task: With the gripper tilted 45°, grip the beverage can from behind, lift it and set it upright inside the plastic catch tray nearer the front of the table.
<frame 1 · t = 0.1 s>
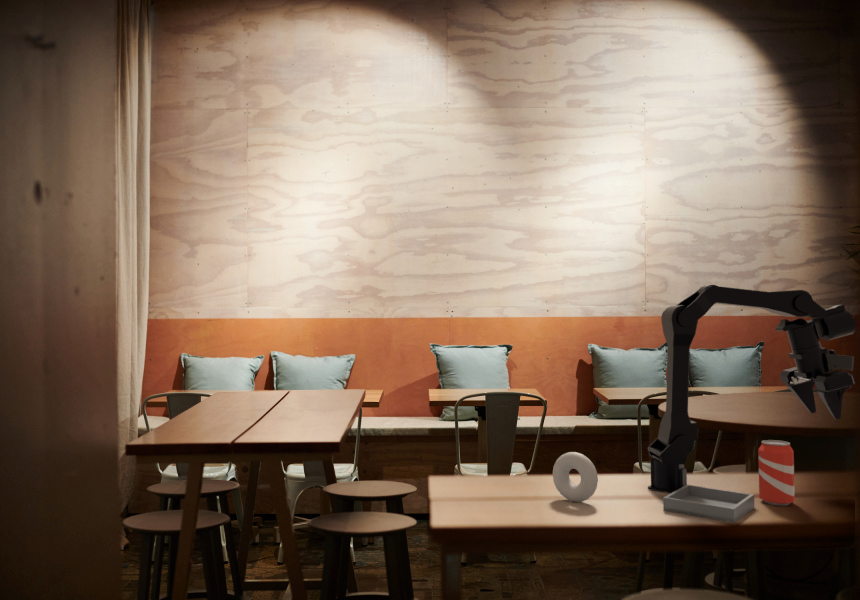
hand: (825, 415, 150), 15 cm above the table, tool pointing down, fingers open, 9 cm apart
catch tray: (709, 508, 134), on the table
beverage can: (776, 503, 138), on the table
donut: (575, 502, 140), on the table
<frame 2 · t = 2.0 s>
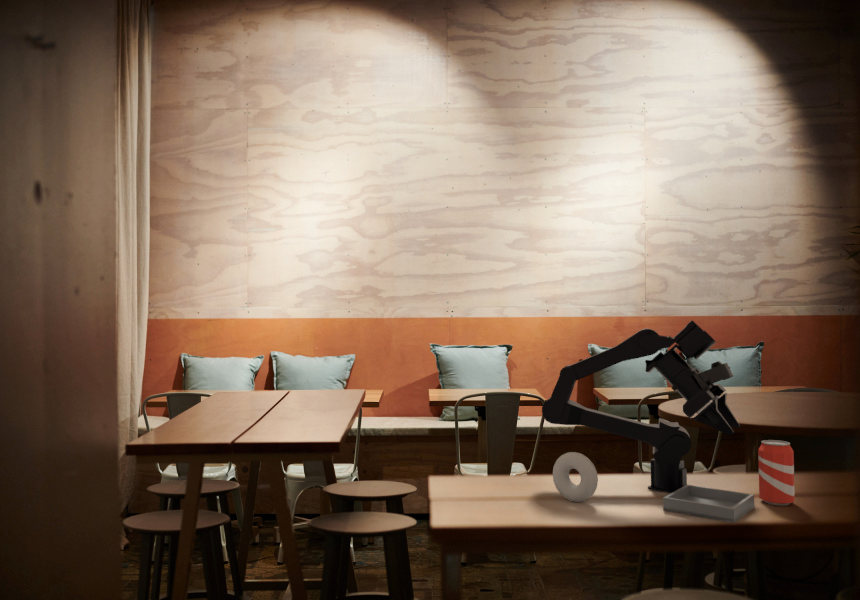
hand: (735, 430, 142), 14 cm above the table, tool tilted 45°, fingers open, 9 cm apart
nothing on the table moved.
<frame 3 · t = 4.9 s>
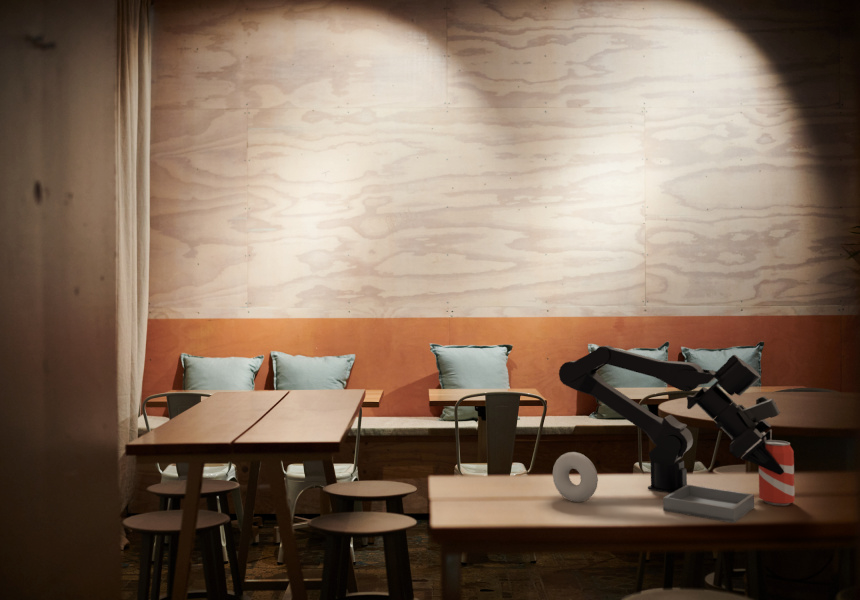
hand: (784, 470, 137), 7 cm above the table, tool tilted 45°, fingers closed on beverage can, 6 cm apart
beverage can: (776, 503, 138), on the table, touching gripper
everything else where it was.
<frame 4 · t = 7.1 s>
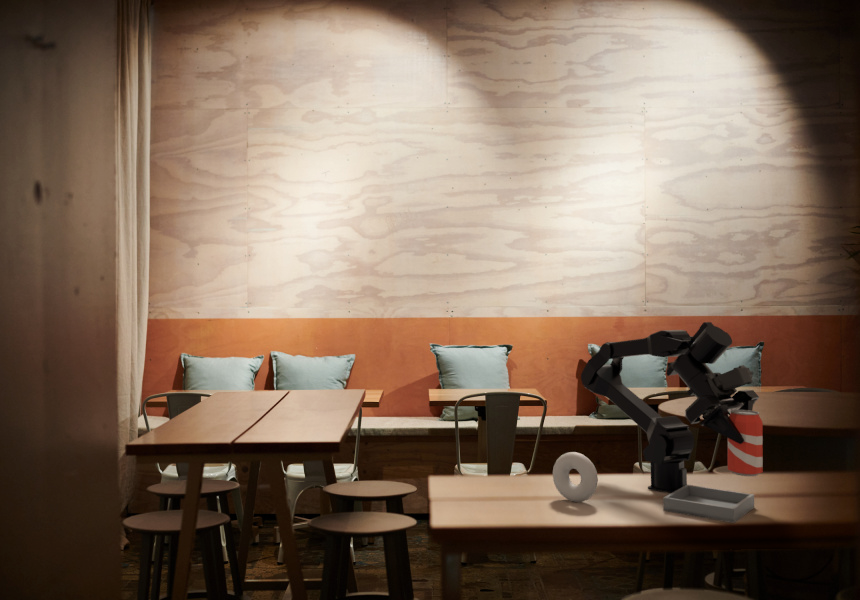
hand: (751, 440, 133), 13 cm above the table, tool tilted 45°, fingers closed on beverage can, 6 cm apart
beverage can: (744, 474, 134), point 7 cm above the table, touching gripper
everything else where it was.
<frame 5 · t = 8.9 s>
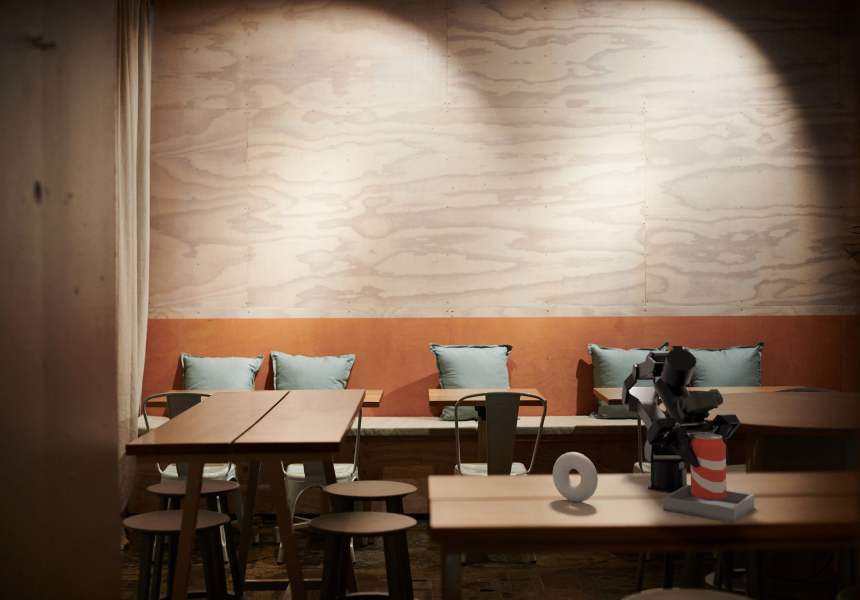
hand: (712, 465, 133), 9 cm above the table, tool tilted 45°, fingers closed on beverage can, 6 cm apart
beverage can: (708, 498, 134), point 2 cm above the table, touching gripper
everything else where it was.
when the fingers open (9 cm above the table, at t = 9.4 s): beverage can drops 1 cm, resting on catch tray.
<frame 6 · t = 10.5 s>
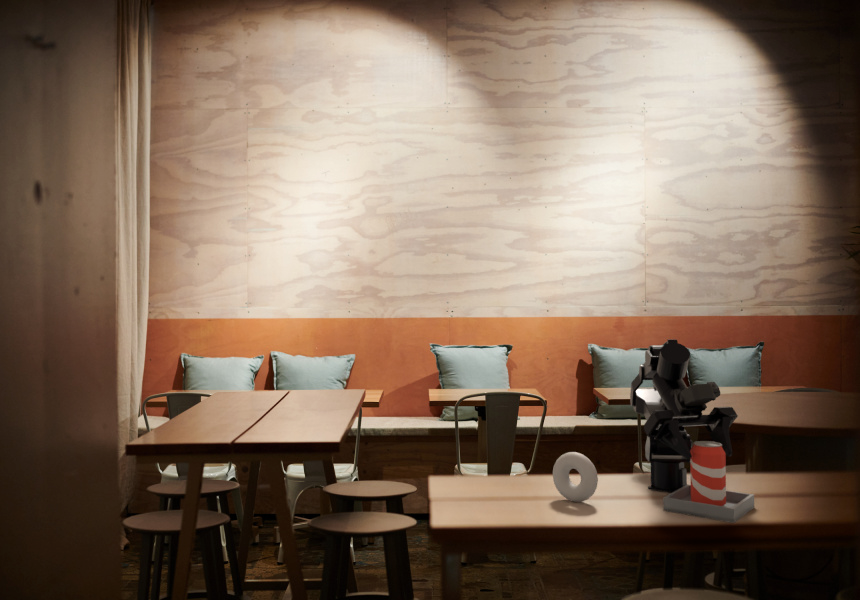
hand: (710, 456, 134), 10 cm above the table, tool tilted 45°, fingers open, 9 cm apart
beverage can: (708, 506, 134), resting on catch tray
everything else where it was.
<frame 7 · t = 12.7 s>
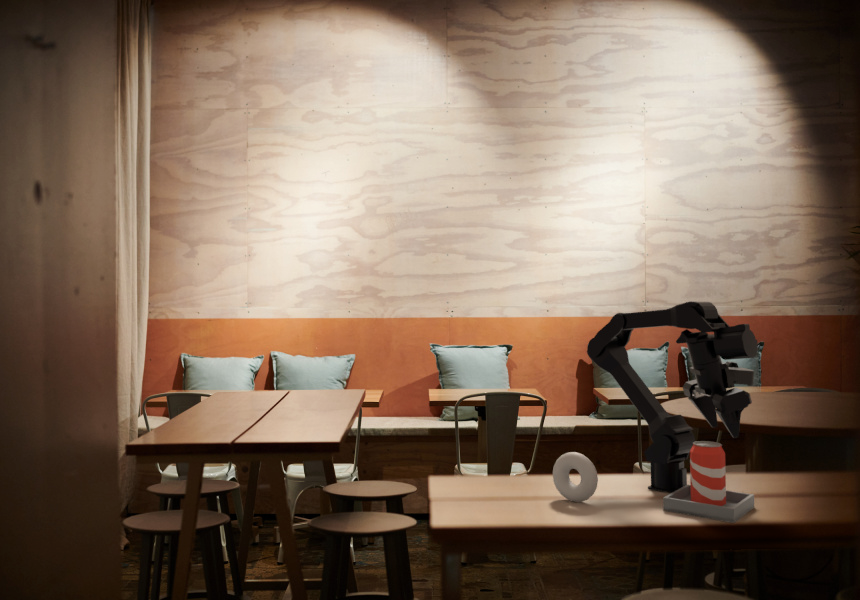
hand: (725, 432, 144), 13 cm above the table, tool tilted 15°, fingers open, 9 cm apart
nothing on the table moved.
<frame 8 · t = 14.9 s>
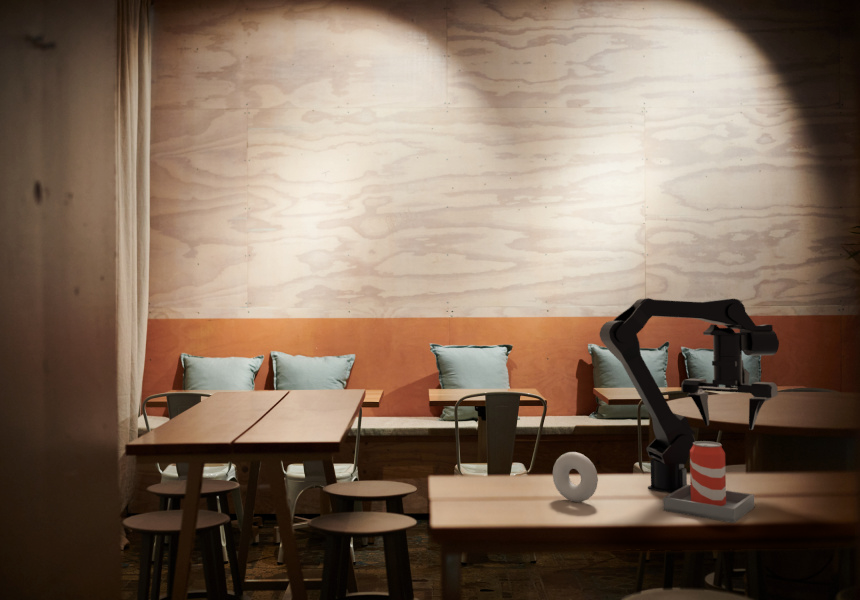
hand: (728, 427, 151), 13 cm above the table, tool pointing down, fingers open, 9 cm apart
nothing on the table moved.
at the end: beverage can inside the target area on the catch tray (0.2 cm from its centre), point 0.4 cm above the catch tray's base; beverage can tilted 0°; the gripper is holding nothing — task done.
